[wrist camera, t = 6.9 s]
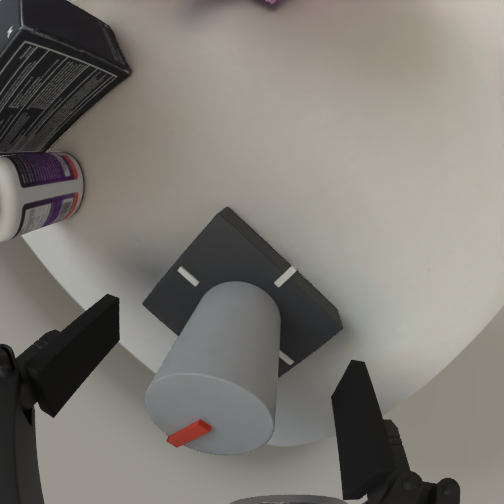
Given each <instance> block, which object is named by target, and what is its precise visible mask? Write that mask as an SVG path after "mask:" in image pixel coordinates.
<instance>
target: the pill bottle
mask: <svg viewBox="0 0 504 504" xmlns="http://www.w3.org/2000/svg"><path fill="white" fill-rule="evenodd" d="M82 195H83V177H82V173H81V169H80V167H79V165H78V163H77V161H76V160H75V159H74V158H73V157H72V156H71V155H69V154H67V153H62V152H52V153H35V154H21V155H9V156H0V241H1V242H2V241H6V240H9V239H12V238H15V237H17V236H20V235H22V234H25V233H28V232H31V231H33V230H36V229H39V228H42V227H45V226H47V225H50V224H53V223H56V222H59V221H62V220H64V219H67V218H69V217H70V216H71V215H73V214H74V213H75V211H76V210H77V209H78V207H79V205H80V202H81V199H82Z"/></svg>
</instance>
